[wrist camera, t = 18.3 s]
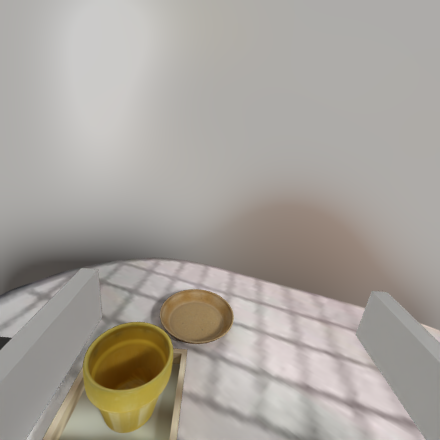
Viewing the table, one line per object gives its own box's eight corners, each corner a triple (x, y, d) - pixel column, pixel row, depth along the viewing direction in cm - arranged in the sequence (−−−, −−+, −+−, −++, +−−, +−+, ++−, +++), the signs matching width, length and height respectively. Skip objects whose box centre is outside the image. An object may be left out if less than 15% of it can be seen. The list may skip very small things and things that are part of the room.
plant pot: (149, 358, 40) (150, 310, 37) (183, 413, 33) (189, 360, 30) (78, 396, 34) (72, 342, 30) (103, 475, 27) (98, 416, 23)
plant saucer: (246, 324, 51) (248, 314, 50) (195, 369, 40) (196, 357, 39) (197, 290, 60) (198, 281, 59) (144, 319, 49) (144, 309, 48)
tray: (171, 480, 27) (173, 464, 26) (35, 475, 26) (31, 458, 25) (185, 362, 41) (187, 349, 40) (96, 356, 40) (95, 342, 39)
